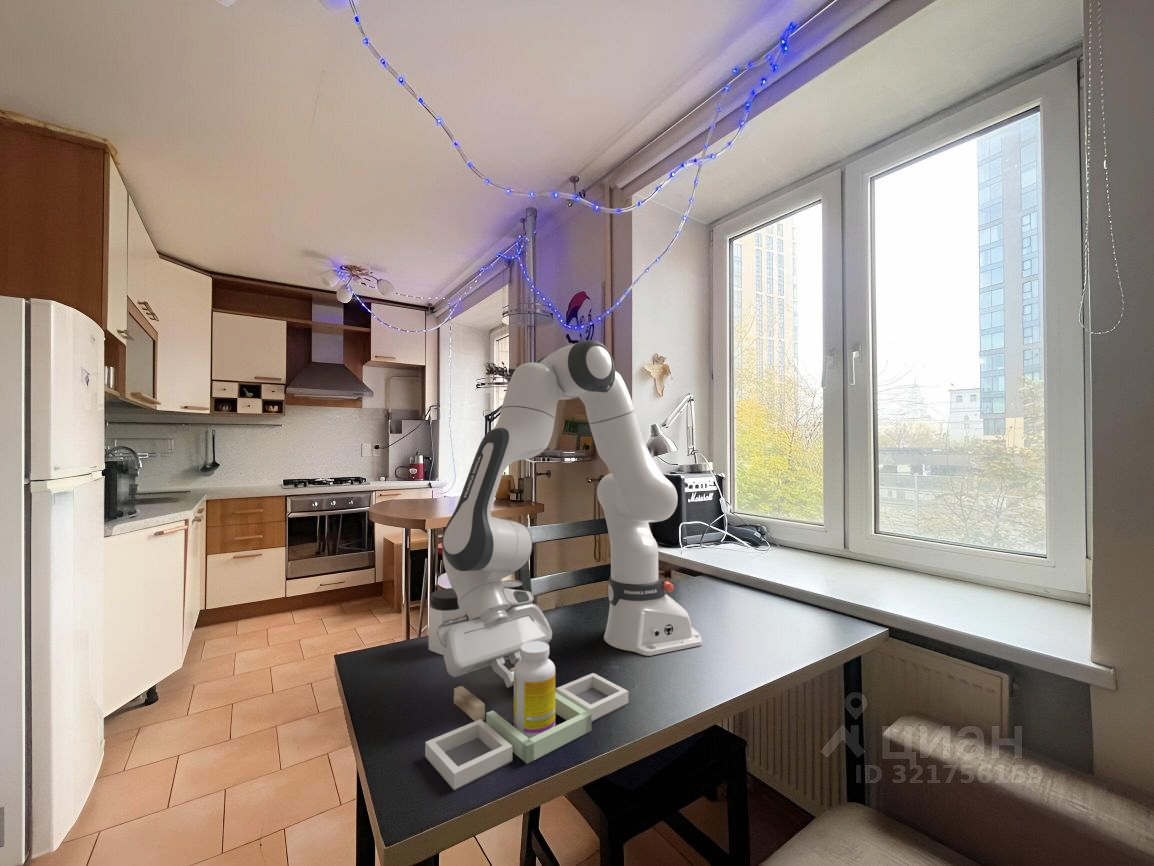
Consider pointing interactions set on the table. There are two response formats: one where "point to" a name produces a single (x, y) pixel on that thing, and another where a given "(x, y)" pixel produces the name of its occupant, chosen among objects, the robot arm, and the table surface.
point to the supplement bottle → (534, 690)
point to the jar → (441, 614)
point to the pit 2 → (594, 695)
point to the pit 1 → (468, 753)
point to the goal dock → (549, 739)
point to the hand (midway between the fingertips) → (516, 683)
